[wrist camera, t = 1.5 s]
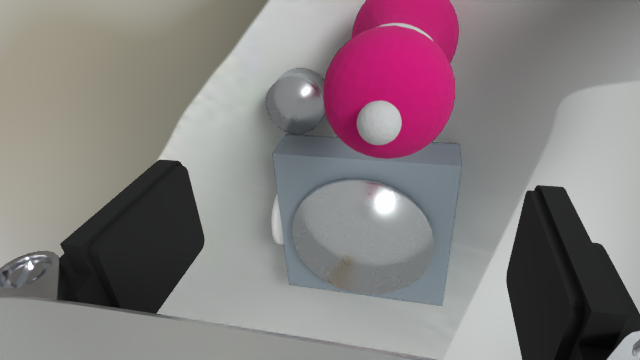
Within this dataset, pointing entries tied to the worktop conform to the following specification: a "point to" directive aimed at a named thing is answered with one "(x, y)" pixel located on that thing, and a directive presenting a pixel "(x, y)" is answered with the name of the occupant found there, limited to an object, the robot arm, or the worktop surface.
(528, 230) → the robot arm
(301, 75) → the silver metal dome
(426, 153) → the scale
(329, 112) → the pepper mill
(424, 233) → the pan
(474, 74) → the worktop surface
